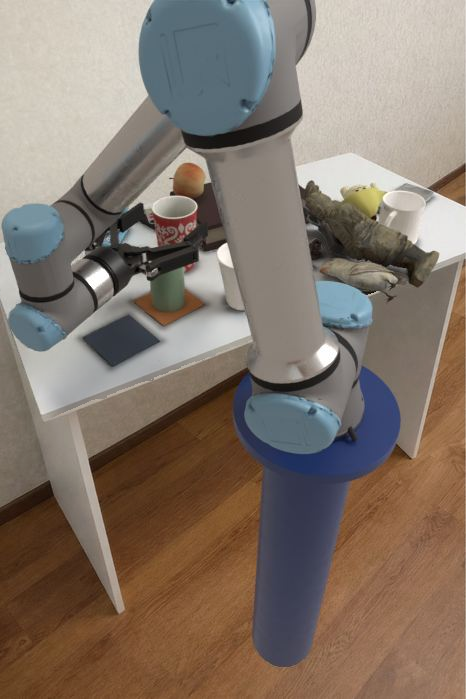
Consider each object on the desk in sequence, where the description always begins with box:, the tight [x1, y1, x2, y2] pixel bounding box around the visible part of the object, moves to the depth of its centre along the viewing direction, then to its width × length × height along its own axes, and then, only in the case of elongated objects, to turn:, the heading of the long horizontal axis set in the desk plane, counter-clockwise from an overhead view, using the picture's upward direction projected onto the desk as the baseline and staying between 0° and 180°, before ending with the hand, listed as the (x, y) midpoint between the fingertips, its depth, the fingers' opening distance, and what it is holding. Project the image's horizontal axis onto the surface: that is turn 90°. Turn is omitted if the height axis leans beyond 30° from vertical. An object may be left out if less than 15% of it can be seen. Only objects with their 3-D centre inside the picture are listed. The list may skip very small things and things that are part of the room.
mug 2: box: [378, 190, 427, 245], centre depth 128 cm, size 12×9×9 cm
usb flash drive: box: [139, 207, 155, 230], centre depth 138 cm, size 9×5×1 cm, turn 45°
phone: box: [377, 182, 435, 214], centre depth 144 cm, size 8×16×1 cm, turn 140°
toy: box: [339, 182, 389, 221], centre depth 137 cm, size 13×7×15 cm
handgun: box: [301, 199, 348, 258], centre depth 127 cm, size 3×19×12 cm
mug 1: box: [151, 195, 198, 273], centre depth 121 cm, size 13×9×14 cm
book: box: [169, 181, 310, 252], centre depth 137 cm, size 28×20×6 cm
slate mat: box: [82, 313, 161, 367], centre depth 106 cm, size 10×10×1 cm
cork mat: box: [132, 288, 206, 327], centre depth 114 cm, size 10×10×1 cm
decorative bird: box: [319, 257, 409, 305], centre depth 117 cm, size 5×16×7 cm
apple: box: [168, 162, 206, 199], centre depth 130 cm, size 8×8×8 cm
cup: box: [215, 243, 245, 311], centre depth 111 cm, size 10×10×11 cm
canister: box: [149, 267, 186, 312], centre depth 111 cm, size 6×6×10 cm
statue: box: [304, 179, 440, 288], centre depth 119 cm, size 11×9×30 cm
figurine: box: [309, 237, 323, 269], centre depth 125 cm, size 5×8×4 cm
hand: (173, 218), depth 105 cm, fingers open, 13 cm apart
